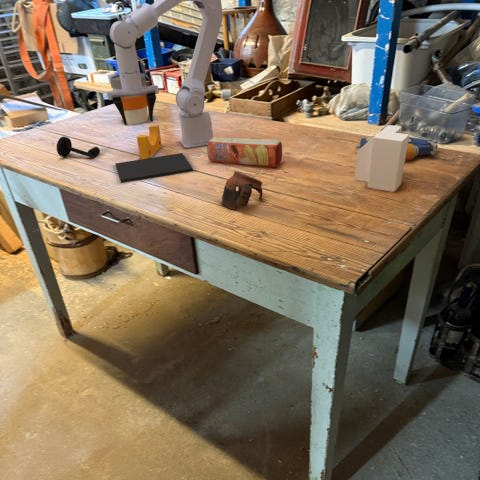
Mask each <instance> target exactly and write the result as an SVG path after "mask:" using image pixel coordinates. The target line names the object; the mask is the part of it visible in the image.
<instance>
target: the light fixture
mask: <svg viewBox="0 0 480 480" xmlns="http://www.w3.org/2000/svg"><path fill="white" fill-rule="evenodd" d="M71 152H73V153H76V154H79V155H82V156H85V157H89V158H92V159H93V158H94V157H96V156H98V155H99V154H101V149H100V147H98V146H94V147H92V148H90V149H88V150H87V151H85V150H82V149H79V148H75V147H73V144H72V140H71V139H70V137H67V136H61V137H59V138H58V140H57V142H56V153H57V154H58V156H60V157H63V158H67V157H69V156H70V154H71Z"/></svg>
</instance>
